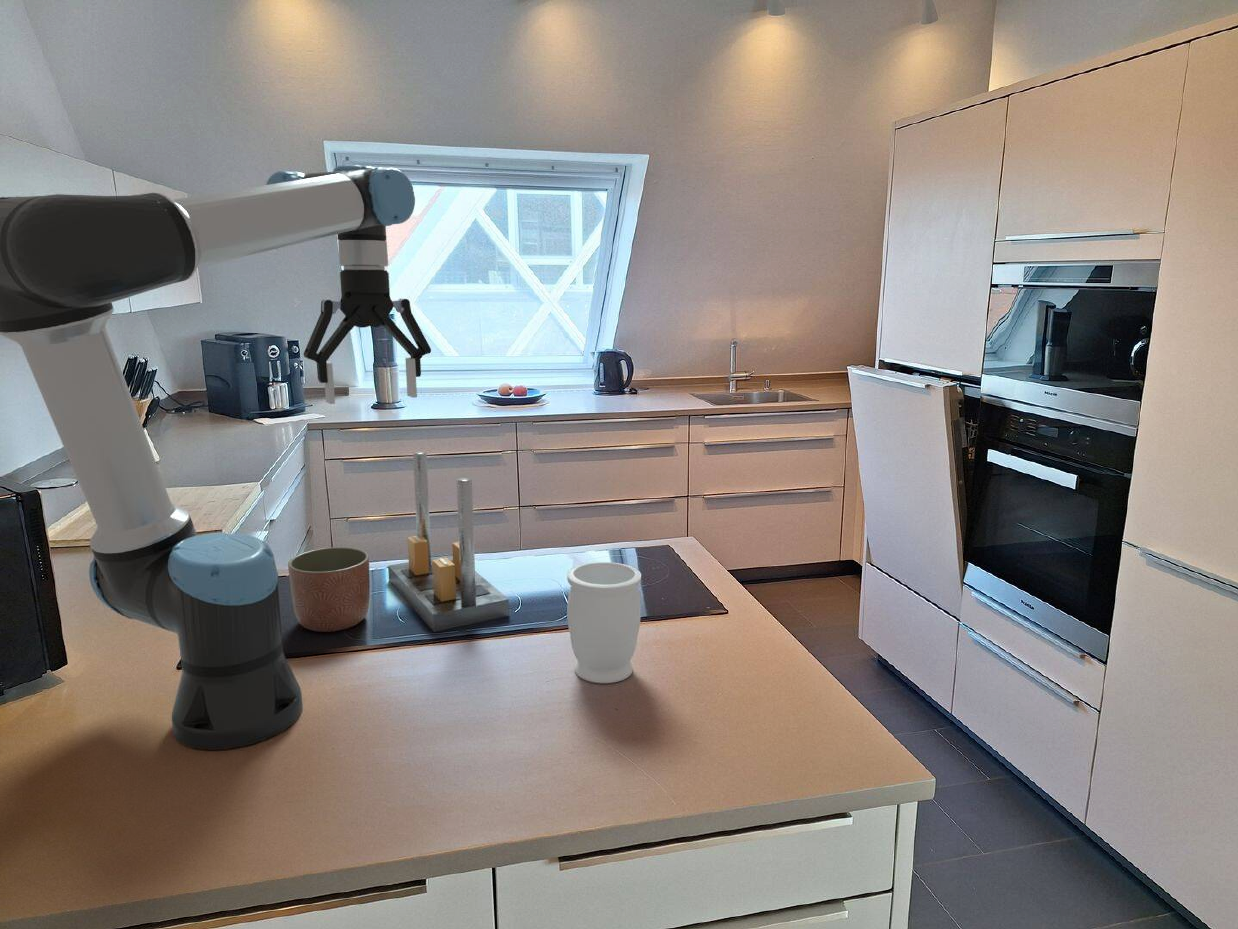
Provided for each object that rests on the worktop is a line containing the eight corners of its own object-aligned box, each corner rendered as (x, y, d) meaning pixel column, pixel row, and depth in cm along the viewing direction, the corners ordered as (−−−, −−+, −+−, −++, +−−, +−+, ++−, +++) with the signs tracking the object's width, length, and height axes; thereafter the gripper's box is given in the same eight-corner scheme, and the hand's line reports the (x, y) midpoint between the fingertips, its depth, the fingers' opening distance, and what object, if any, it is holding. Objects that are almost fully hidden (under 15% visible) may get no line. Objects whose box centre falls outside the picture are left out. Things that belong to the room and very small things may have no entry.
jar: (654, 670, 119) (656, 573, 116) (605, 696, 112) (605, 593, 108) (602, 648, 126) (602, 555, 123) (552, 671, 119) (551, 573, 115)
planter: (300, 644, 126) (295, 577, 124) (287, 616, 137) (281, 554, 134) (381, 628, 133) (377, 564, 130) (362, 602, 143) (358, 542, 141)
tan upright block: (474, 579, 145) (473, 546, 144) (461, 581, 144) (460, 548, 143) (466, 572, 149) (465, 539, 147) (453, 574, 147) (452, 541, 146)
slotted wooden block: (456, 598, 136) (454, 563, 135) (441, 601, 135) (440, 566, 134) (447, 591, 140) (446, 556, 138) (433, 593, 138) (432, 558, 137)
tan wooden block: (429, 573, 148) (427, 540, 147) (415, 575, 147) (414, 542, 145) (422, 566, 151) (420, 534, 150) (409, 568, 150) (407, 536, 149)
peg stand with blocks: (509, 615, 138) (506, 477, 132) (434, 632, 131) (427, 486, 126) (455, 569, 159) (451, 448, 154) (388, 580, 153) (381, 455, 148)
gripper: (430, 269, 141) (436, 391, 146) (277, 267, 128) (288, 402, 133) (446, 269, 135) (451, 396, 140) (287, 267, 122) (299, 408, 127)
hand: (372, 399), depth 136 cm, fingers open, 13 cm apart
